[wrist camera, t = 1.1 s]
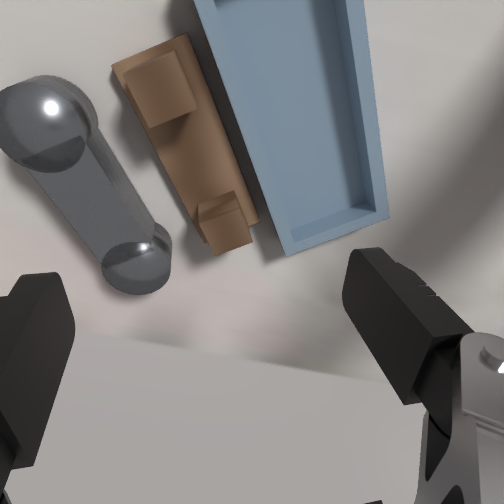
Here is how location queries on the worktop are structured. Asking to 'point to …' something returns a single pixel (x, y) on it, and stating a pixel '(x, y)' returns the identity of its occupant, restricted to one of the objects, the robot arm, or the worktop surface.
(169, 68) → the wooden plank with blocks
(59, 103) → the steel dumbbell
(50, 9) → the worktop surface
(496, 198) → the worktop surface
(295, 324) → the worktop surface
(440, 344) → the robot arm
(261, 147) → the slate-blue tray
